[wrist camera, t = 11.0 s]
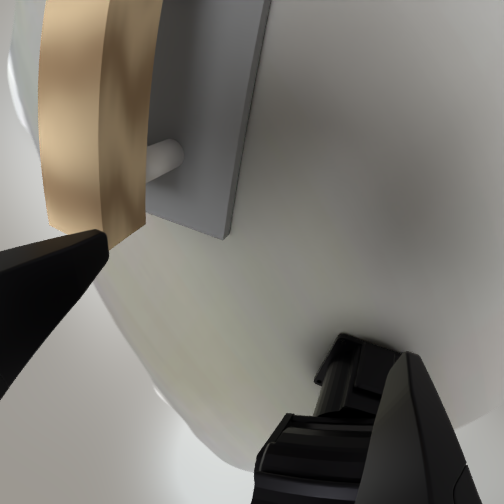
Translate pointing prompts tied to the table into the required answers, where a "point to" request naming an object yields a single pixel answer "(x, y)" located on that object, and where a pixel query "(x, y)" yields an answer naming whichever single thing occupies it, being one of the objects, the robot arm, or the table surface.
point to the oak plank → (96, 112)
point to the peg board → (201, 109)
